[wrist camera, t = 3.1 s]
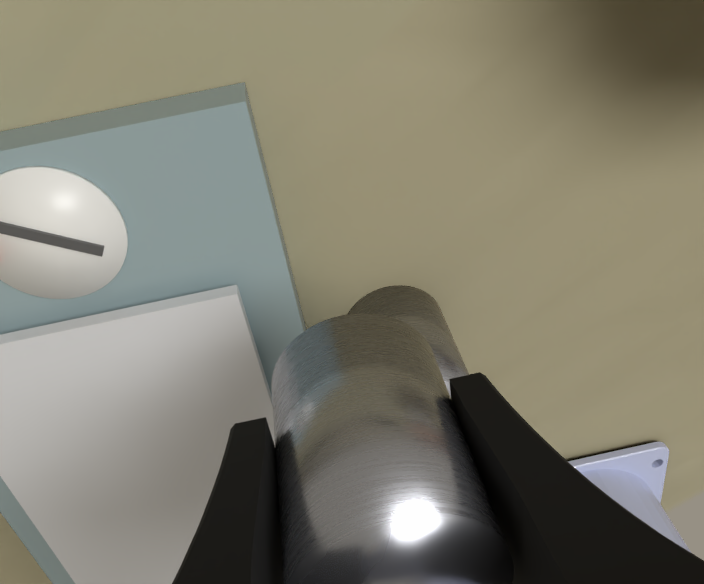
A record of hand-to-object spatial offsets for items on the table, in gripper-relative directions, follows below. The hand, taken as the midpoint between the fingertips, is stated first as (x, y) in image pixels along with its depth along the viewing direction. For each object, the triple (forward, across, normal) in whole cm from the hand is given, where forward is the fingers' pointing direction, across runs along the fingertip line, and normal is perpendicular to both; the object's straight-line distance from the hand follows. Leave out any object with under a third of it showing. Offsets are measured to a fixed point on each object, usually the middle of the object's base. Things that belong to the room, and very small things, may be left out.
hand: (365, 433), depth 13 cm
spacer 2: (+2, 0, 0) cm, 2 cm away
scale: (+9, +7, +6) cm, 13 cm away
